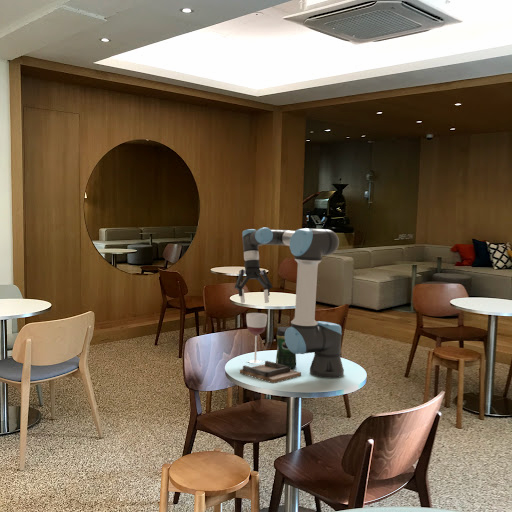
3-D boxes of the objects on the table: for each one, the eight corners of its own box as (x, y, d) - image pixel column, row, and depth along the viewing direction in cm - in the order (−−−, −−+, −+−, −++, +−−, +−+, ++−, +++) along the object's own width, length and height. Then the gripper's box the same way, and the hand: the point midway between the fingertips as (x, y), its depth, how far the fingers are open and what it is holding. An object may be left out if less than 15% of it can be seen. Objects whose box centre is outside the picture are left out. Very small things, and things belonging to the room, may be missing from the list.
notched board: (300, 375, 248) (301, 368, 248) (273, 383, 235) (273, 374, 235) (267, 366, 262) (267, 359, 262) (239, 373, 249) (240, 365, 249)
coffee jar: (295, 364, 268) (296, 326, 267) (296, 369, 260) (298, 329, 259) (274, 364, 268) (276, 325, 267) (275, 368, 260) (277, 328, 259)
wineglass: (265, 364, 266) (267, 316, 265) (244, 363, 266) (246, 315, 265) (265, 360, 275) (267, 313, 274) (245, 359, 275) (246, 312, 274)
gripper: (269, 262, 291) (272, 303, 287) (226, 261, 279) (228, 304, 275) (276, 259, 285) (280, 301, 281) (232, 258, 272) (236, 302, 268)
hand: (255, 302), depth 278 cm, fingers open, 13 cm apart
